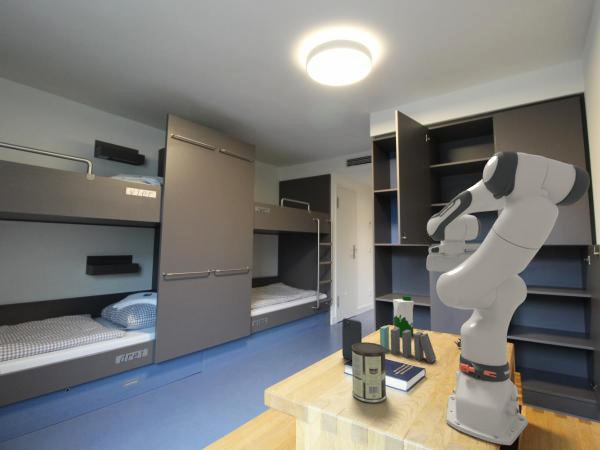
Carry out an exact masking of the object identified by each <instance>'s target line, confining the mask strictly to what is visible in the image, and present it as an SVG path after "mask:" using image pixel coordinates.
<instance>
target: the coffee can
mask: <svg viewBox="0 0 600 450" xmlns="http://www.w3.org/2000/svg"><path fill="white" fill-rule="evenodd" d="M385 350H386V349H385V347H383V346H382V345H380V343H375V342H367V341H366V342H364V341H363V342H361V343H356V344H353V345H352V361H351V366H352V368H351V369H352V371H351V372H352V377H351V378H352V379H351V381H352V395H353V397H355V398H356V399H357V400H360V401H362V402H365V403H380V402H383V401H384V400H386V398H387V392H386V391H387V388H386V383H387V381H386V378H387V377H386V352H385Z"/></svg>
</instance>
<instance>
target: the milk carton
mask: <svg viewBox="0 0 600 450" xmlns="http://www.w3.org/2000/svg"><path fill="white" fill-rule="evenodd" d="M392 304H393V325H394V326H393V328H400V338H402V332H403V331H405V330H411V338H412V337H413V338H414V334H415V333H414V316H413V315H414V314H413V313H414V312H413V311H414V300H412V298H411V296H410V295H402V298H397V299H392Z"/></svg>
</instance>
